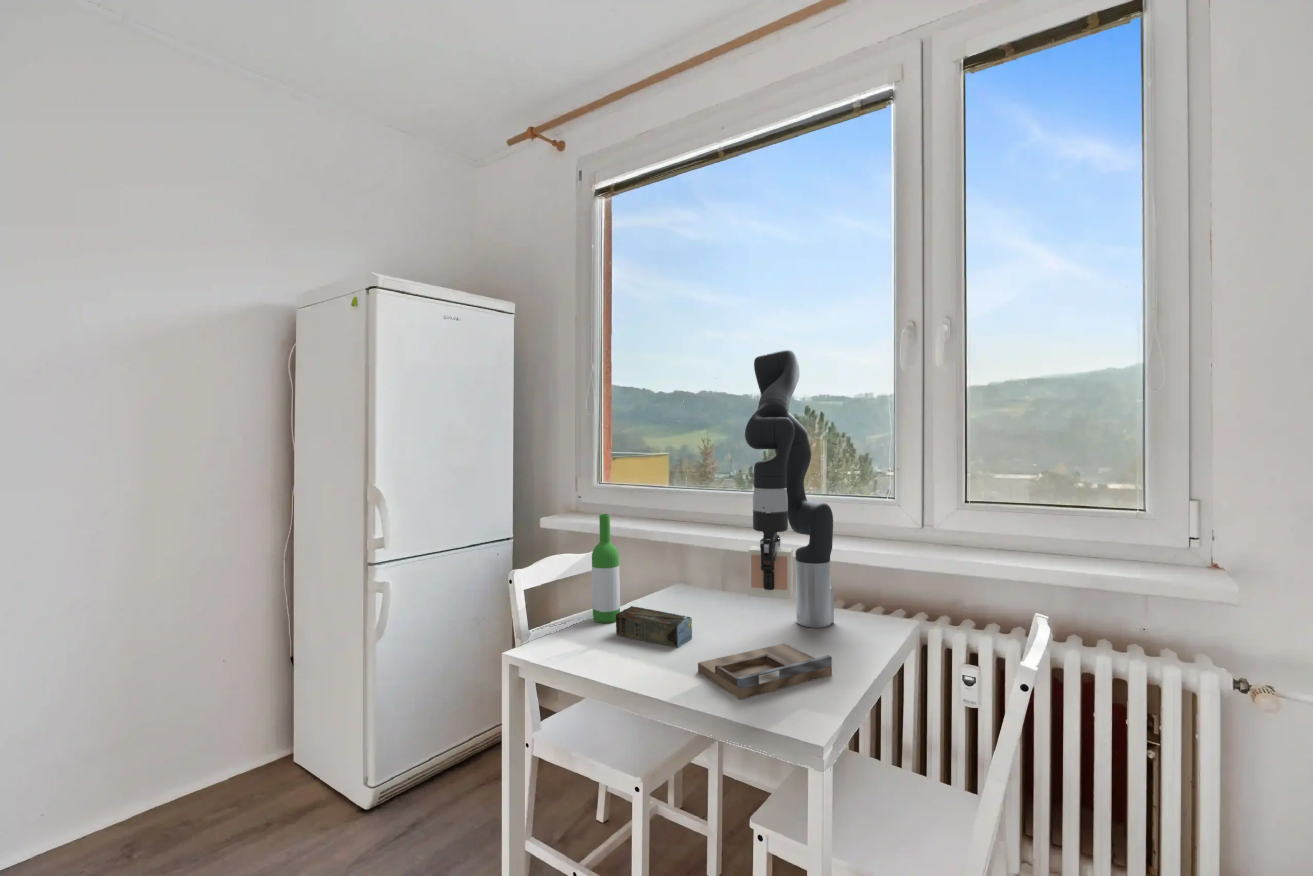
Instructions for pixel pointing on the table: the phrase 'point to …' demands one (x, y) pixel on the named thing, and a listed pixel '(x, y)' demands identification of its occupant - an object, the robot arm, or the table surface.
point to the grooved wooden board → (765, 670)
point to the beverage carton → (654, 626)
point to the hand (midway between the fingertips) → (770, 585)
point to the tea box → (781, 574)
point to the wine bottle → (605, 576)
